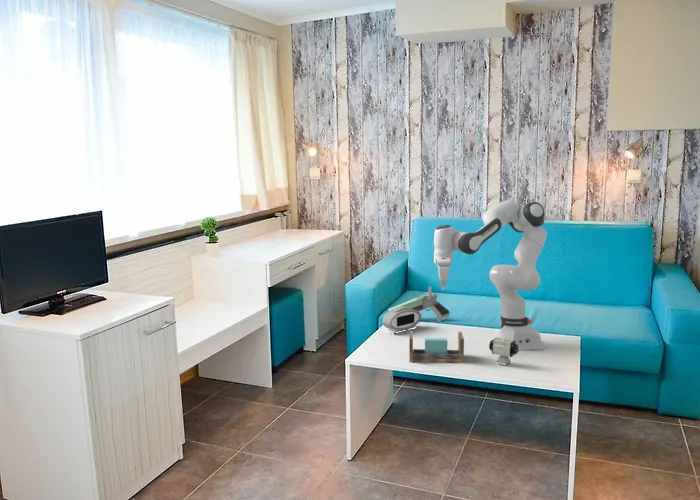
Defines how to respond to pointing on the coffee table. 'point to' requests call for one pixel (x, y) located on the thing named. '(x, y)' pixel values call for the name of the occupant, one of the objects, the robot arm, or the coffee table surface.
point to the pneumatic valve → (503, 349)
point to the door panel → (435, 345)
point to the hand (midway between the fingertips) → (442, 287)
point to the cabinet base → (450, 357)
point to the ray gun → (426, 305)
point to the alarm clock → (401, 319)
